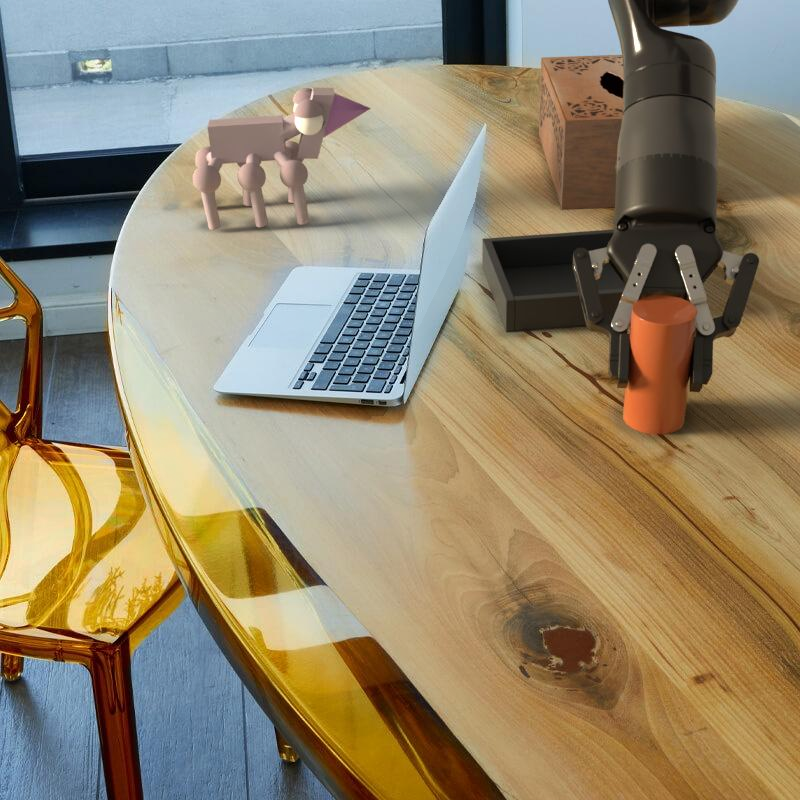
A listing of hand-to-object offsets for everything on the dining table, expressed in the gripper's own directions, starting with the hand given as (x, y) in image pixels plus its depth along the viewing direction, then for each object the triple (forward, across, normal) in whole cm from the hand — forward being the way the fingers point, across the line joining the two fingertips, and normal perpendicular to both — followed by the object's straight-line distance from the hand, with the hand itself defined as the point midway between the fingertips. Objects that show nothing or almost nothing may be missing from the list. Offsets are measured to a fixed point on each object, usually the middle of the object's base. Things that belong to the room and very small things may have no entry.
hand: (659, 386), depth 79 cm
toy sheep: (-26, -39, +33) cm, 57 cm away
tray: (-13, -6, +20) cm, 24 cm away
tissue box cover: (-38, -3, +45) cm, 59 cm away
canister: (+2, 0, +5) cm, 5 cm away
